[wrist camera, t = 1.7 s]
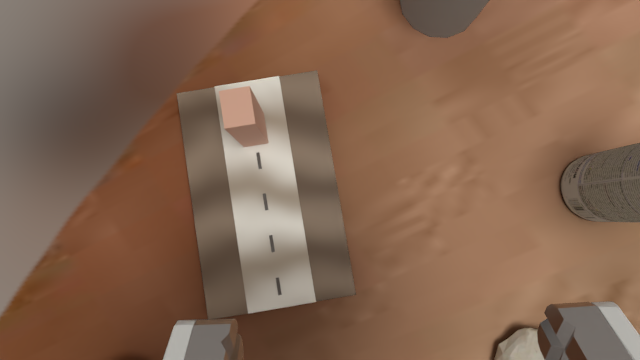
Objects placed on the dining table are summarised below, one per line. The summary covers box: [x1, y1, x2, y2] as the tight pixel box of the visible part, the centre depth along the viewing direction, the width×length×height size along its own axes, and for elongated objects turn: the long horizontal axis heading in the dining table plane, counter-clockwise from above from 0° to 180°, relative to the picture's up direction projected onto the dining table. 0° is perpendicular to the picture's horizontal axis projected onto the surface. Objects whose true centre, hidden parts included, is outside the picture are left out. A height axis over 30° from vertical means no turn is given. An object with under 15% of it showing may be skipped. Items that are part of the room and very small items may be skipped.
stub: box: [219, 86, 269, 147], centre depth 35 cm, size 3×2×8 cm
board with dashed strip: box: [177, 71, 356, 319], centre depth 40 cm, size 22×14×2 cm, turn 10°
